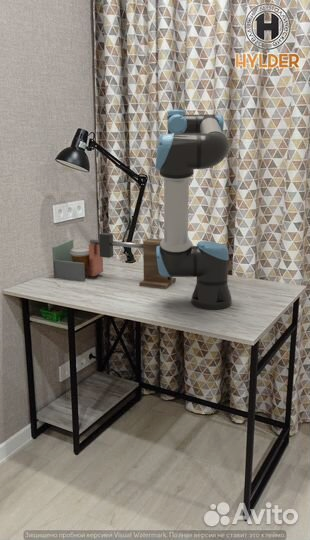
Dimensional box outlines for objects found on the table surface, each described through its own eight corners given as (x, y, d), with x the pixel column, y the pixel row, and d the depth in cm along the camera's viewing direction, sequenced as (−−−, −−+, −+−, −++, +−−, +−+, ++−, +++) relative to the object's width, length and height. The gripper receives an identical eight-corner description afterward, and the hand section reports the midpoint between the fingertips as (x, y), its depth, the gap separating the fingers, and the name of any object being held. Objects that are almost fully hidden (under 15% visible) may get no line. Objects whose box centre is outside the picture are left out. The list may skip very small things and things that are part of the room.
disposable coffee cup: (94, 272, 245) (93, 247, 242) (90, 278, 236) (89, 252, 232) (73, 272, 246) (72, 246, 242) (69, 278, 236) (67, 251, 233)
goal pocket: (83, 281, 231) (82, 250, 228) (54, 277, 237) (52, 247, 233) (101, 271, 246) (100, 242, 242) (72, 268, 251) (71, 239, 248)
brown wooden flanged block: (165, 289, 220) (166, 244, 215) (139, 286, 225) (138, 242, 219) (175, 281, 231) (175, 238, 226) (149, 278, 235) (149, 236, 230)
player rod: (148, 282, 225) (148, 239, 220) (85, 275, 235) (83, 234, 230) (155, 277, 232) (155, 235, 227) (93, 270, 243) (92, 230, 238)
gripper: (177, 146, 236) (177, 194, 242) (157, 149, 214) (157, 202, 220) (193, 146, 234) (193, 195, 240) (175, 149, 211) (174, 203, 217)
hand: (176, 198), depth 230 cm, fingers open, 13 cm apart
